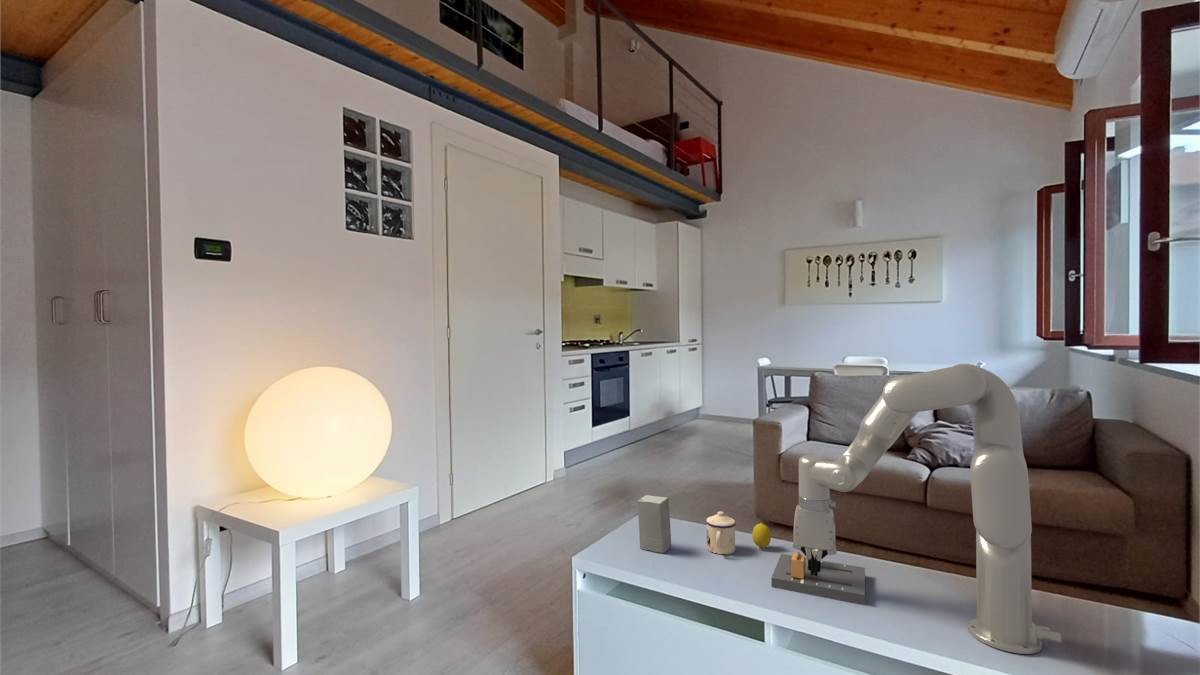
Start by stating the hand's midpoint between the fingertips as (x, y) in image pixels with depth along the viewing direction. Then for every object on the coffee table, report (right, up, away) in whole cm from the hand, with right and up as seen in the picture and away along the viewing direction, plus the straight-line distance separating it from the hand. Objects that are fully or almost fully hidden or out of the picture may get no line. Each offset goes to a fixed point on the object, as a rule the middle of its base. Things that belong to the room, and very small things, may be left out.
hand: (814, 573), depth 139 cm
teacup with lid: (-19, -4, +25) cm, 31 cm away
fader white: (+3, -1, +8) cm, 9 cm away
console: (+3, -4, +4) cm, 6 cm away
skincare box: (-39, -4, +27) cm, 48 cm away
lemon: (-6, -4, +27) cm, 28 cm away
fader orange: (-4, -1, +2) cm, 4 cm away
